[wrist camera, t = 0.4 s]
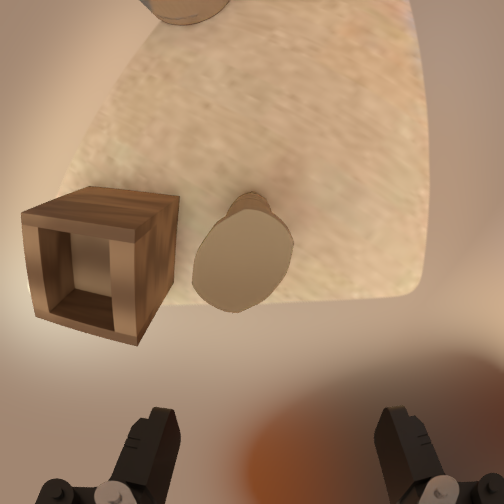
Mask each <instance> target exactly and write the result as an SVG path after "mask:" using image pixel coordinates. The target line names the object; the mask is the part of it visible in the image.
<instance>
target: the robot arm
mask: <svg viewBox="0 0 504 504" xmlns="http://www.w3.org/2000/svg"><path fill="white" fill-rule="evenodd" d="M140 1H141V2H142V3H143V4H144V5H145V6H146V7H147V8H148V9H149V10H150V11H151V12H152V13H153V14H154V15H155V16H156V17H157V18H158V19H160V20H162V21H164V22H166V23H170V24H175V25H187V24H194V23H198V22H201V21H203V20H206V19H208V18H210V17H212V16H213V15H215V14H217V13H218V12H219V11H220V10H221V9H223V8H224V6H225V5H226V4H227V3H228V2H229V0H140ZM180 442H181V434H180V429H179V426H178V423H177V420H176V416H175V412H174V410H173V409H167V408H159V407H154V408H153V409H152V411H151V414H150V416H149V419H145V418H140V419H139V420H138V421H137V422H136V423H135V424H134V425H133V426H132V427H131V430H130V432H129V434H128V438H127V439H126V441H125V444H124V447H123V449H122V451H121V454H120V456H119V459H118V461H117V463H116V466H115V468H114V471H113V473H112V476H111V478H110V479H109V480H108V481H107V482H104V483H102V484H101V485H99V486H98V487H94V488H92V487H91V488H90V487H88V488H87V487H72V486H71V485H70V484H69V483H68V482H66V481H65V480H62V479H51V480H49V481H47V482H46V483H45V484H44V485H43V487H42V489H41V491H40V493H39V496H38V498H37V501H36V503H35V504H165V501H166V497H167V493H168V489H169V486H170V482H171V478H172V474H173V470H174V466H175V462H176V459H177V455H178V451H179V447H180ZM374 443H375V447H376V450H377V454H378V458H379V461H380V465H381V469H382V473H383V477H384V480H385V484H386V488H387V492H388V496H389V500H390V504H504V478H503V477H502V476H501V475H499V474H497V473H489V474H486V475H485V476H483V477H482V478H481V479H480V480H479V481H476V482H457V481H456V480H455V479H453V478H452V477H450V476H446V475H445V473H444V471H443V469H442V466H441V464H440V461H439V460H438V457H437V454H436V452H435V449H434V447H433V444H431V440H430V437H429V436H428V433H427V431H426V428H425V426H424V424H423V423H422V422H421V421H420V420H419V419H418V418H417V417H416V416H410V417H409V415H408V413H407V410H406V408H405V407H404V406H403V405H400V406H394V407H387V408H384V410H383V412H382V414H381V417H380V420H379V422H378V424H377V427H376V429H375V433H374Z"/></svg>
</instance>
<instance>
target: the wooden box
mask: <svg viewBox="0 0 504 504" xmlns="http://www.w3.org/2000/svg"><path fill="white" fill-rule="evenodd" d="M179 198H180V196H172V195H164V194H156V193H148V192H139V191H130V190H121V189H111V188H102V187H91V186H89V187H86V188H83V189H80V190H78V191H75V192H72V193H69V194H67V195H64V196H61V197H59V198H56V199H53V200H51V201H48V202H46V203H43V204H41V205H38V206H36V207H34V208H31V209H29V210H27V211H24V212H22V213H21V222H22V233H23V244H24V253H25V260H26V267H27V273H28V280H29V286H30V292H31V297H32V302H33V306H34V312H35V316H36V317H38V318H41V319H44V320H47V321H50V322H53V323H56V324H59V325H62V326H65V327H69V328H72V329H75V330H78V331H82V332H85V333H89V334H92V335H96V336H99V337H103V338H106V339H110V340H114V341H118V342H122V343H126V344H130V345H134V346H138V344H139V342H140V340H141V339H142V337H143V335H144V334H145V332H146V330H147V328H148V326H149V325H150V323H151V321H152V319H153V318H154V316H155V314H156V312H157V311H158V308H159V307H160V305H161V304H162V302H163V300H164V298H165V297H166V295H167V293H168V292H169V290H170V288H171V286H172V285H173V283H174V264H175V248H176V234H177V221H178V209H179Z"/></svg>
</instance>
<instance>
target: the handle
mask: <svg viewBox="0 0 504 504" xmlns="http://www.w3.org/2000/svg"><path fill="white" fill-rule="evenodd" d="M293 246H294V242H293V239H292V236H291V234H290V231H289V230H288V228H287V226H286V225H285V224H284V223H283V221H282V220H281V219H279V218H278V217H277V216H276V215H275V214H273V213H272V212H271V209H270V206H269V204H268V203H267V200H266V199H265V198H263V197H261V196H260V195H258V194H257V193H256V192H251V193H248V194H244V195H242V196H240V197H238V198H237V199H236V200H235V202H234V203H233V204H232V205H231V207H230V209H229V210H228V212H227V215H226V216H225V217H224V218H222V219H221V220H219V221H218V222H217V223H216V224H215V225H214V226H213V228H212V229H211V231H210V232H209V233H208V235H207V236H206V238H205V239H204V241H203V242H202V244H201V246H200V247H199V249H198V251H197V254H196V256H195V260H194V267H193V277H192V285H193V287H194V289H195V290H196V292H197V293H198V295H199V296H200V297H201V298H202V299H203V300H205V301H206V302H207V303H209V304H210V305H212V306H214V307H216V308H218V309H220V310H223V311H226V312H232V313H239V312H241V311H244V310H246V309H248V308H250V307H252V306H255V305H257V304H259V303H260V302H262V301H263V300H265V299H266V298H267V297H268V296H269V295H270V294H271V293H272V292H273V291H274V289H275V288H276V287H277V286H278V285H279V283H280V282H281V281H282V279H283V278H284V276H285V275H286V273H287V270H288V267H289V264H290V260H291V255H292V251H293Z"/></svg>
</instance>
